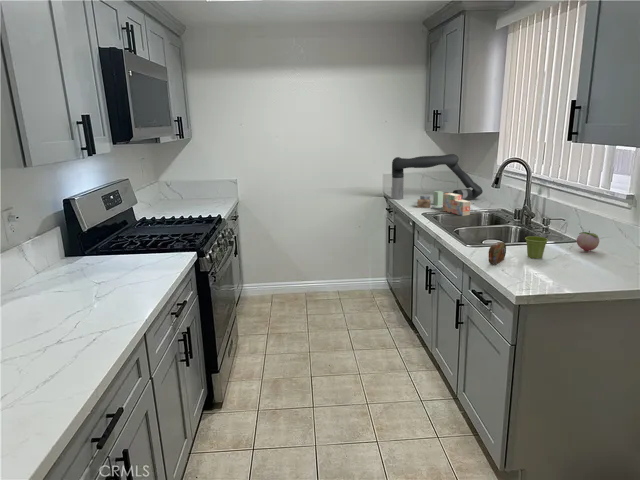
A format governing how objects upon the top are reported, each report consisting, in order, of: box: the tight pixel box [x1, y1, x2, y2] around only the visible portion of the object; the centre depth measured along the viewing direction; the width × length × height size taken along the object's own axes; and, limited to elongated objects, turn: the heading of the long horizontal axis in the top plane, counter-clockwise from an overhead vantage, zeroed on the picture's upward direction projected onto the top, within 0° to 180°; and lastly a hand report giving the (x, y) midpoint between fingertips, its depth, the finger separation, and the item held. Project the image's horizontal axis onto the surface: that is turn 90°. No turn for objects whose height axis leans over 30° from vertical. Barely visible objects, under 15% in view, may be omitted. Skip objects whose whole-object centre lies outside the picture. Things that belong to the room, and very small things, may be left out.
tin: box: [488, 241, 507, 265], centre depth 195 cm, size 15×3×8 cm, turn 138°
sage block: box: [432, 190, 444, 207], centre depth 328 cm, size 5×5×10 cm
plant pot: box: [524, 235, 549, 260], centre depth 199 cm, size 9×9×9 cm
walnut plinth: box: [416, 198, 431, 209], centre depth 323 cm, size 9×9×5 cm
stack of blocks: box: [442, 192, 472, 216], centre depth 299 cm, size 21×6×12 cm, turn 22°
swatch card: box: [430, 205, 443, 210], centre depth 317 cm, size 9×7×1 cm
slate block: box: [419, 194, 431, 200], centre depth 334 cm, size 5×5×6 cm
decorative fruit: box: [576, 230, 600, 252], centre depth 205 cm, size 9×8×10 cm
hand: (443, 196), depth 330 cm, fingers open, 8 cm apart
